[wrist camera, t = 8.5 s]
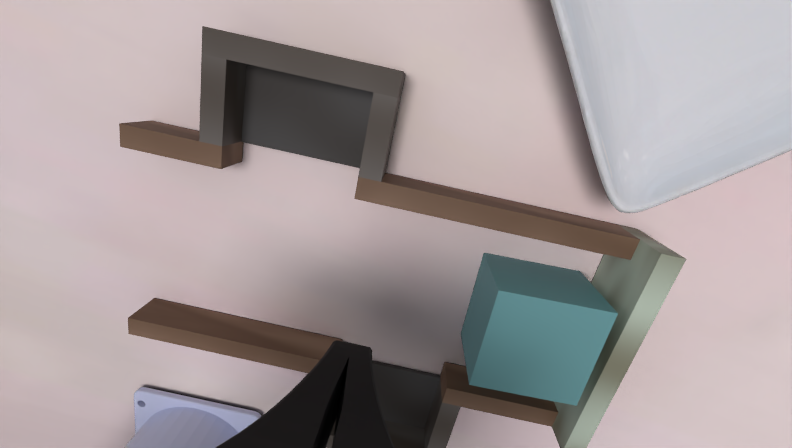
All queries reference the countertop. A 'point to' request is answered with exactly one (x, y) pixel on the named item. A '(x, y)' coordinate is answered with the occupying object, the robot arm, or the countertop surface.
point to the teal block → (534, 329)
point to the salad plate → (678, 90)
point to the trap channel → (369, 150)
